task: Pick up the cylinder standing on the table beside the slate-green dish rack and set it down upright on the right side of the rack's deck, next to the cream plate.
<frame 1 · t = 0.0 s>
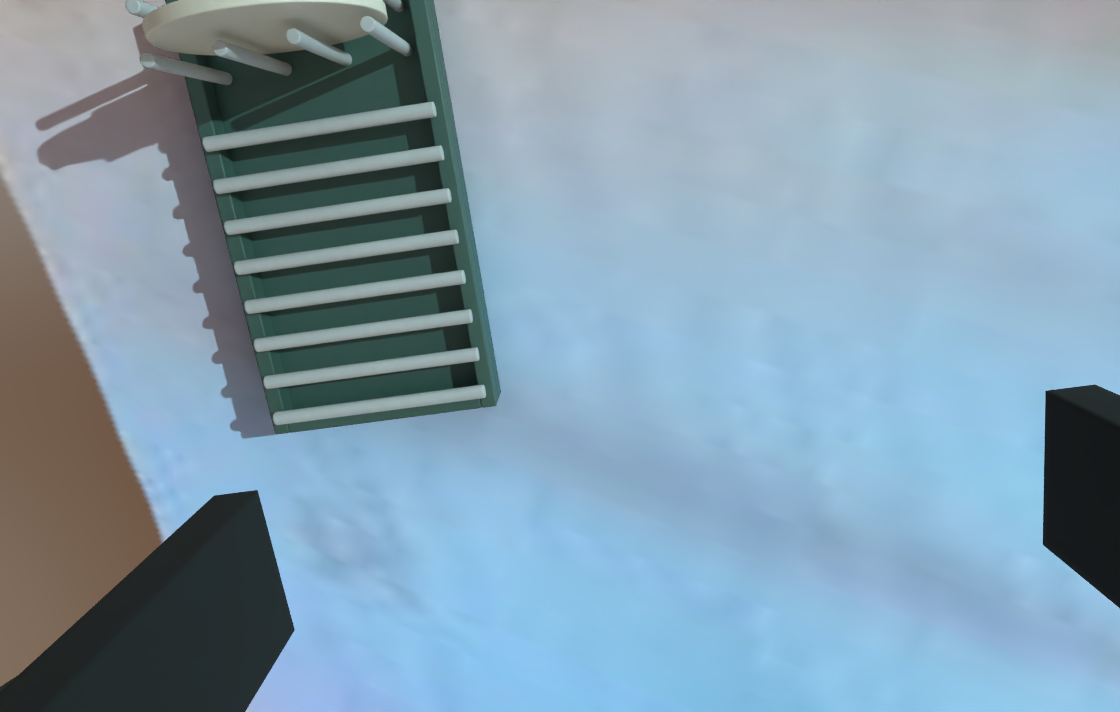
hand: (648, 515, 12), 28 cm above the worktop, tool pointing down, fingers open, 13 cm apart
dish rack: (354, 208, 39), on the worktop
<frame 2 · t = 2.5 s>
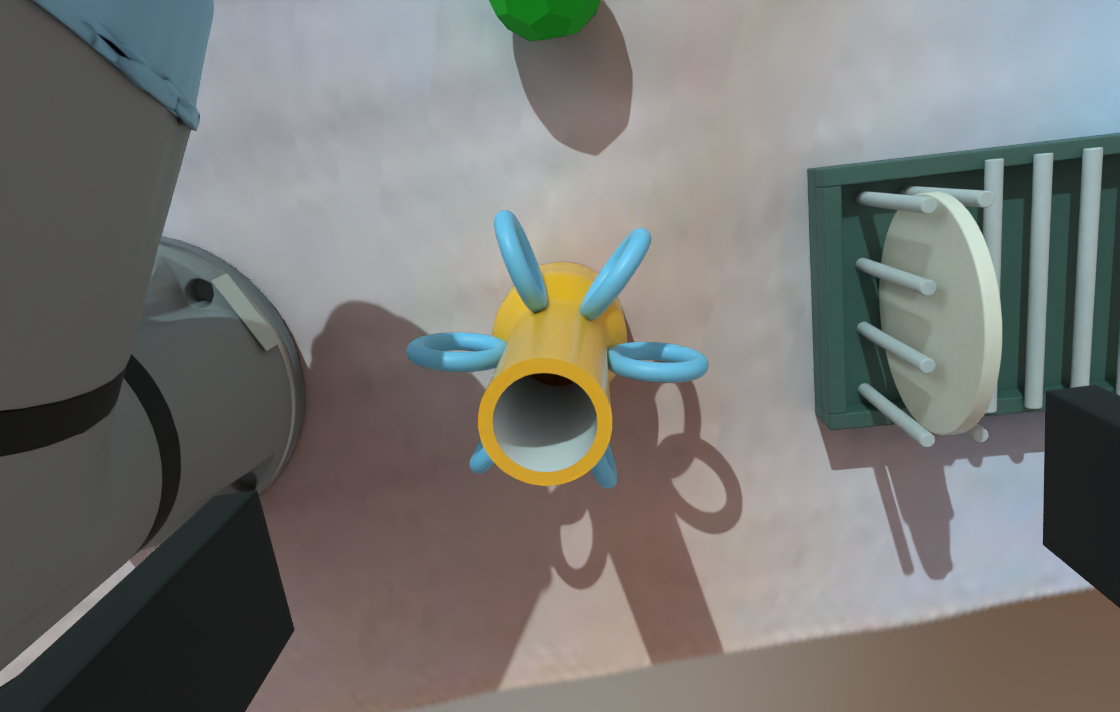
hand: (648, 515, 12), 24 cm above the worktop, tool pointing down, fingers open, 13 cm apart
dish rack: (1048, 271, 35), on the worktop
cylinder: (563, 321, 37), on the worktop
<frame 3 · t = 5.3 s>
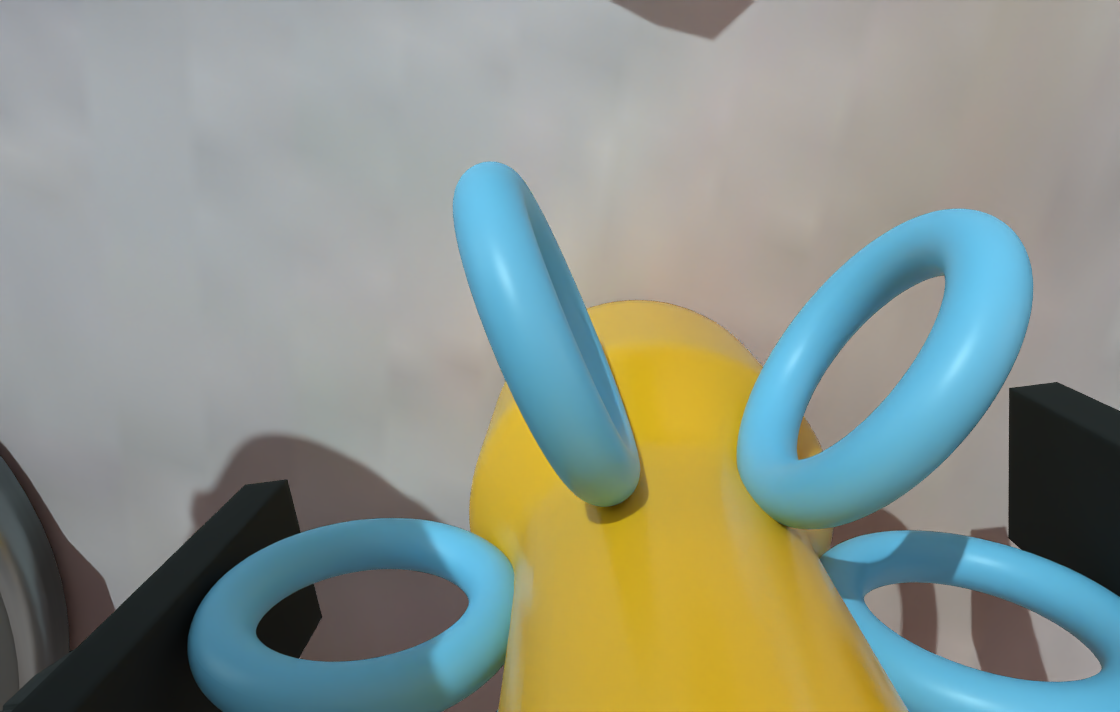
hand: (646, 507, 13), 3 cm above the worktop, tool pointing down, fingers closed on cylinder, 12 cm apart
cylinder: (634, 431, 16), on the worktop, touching gripper
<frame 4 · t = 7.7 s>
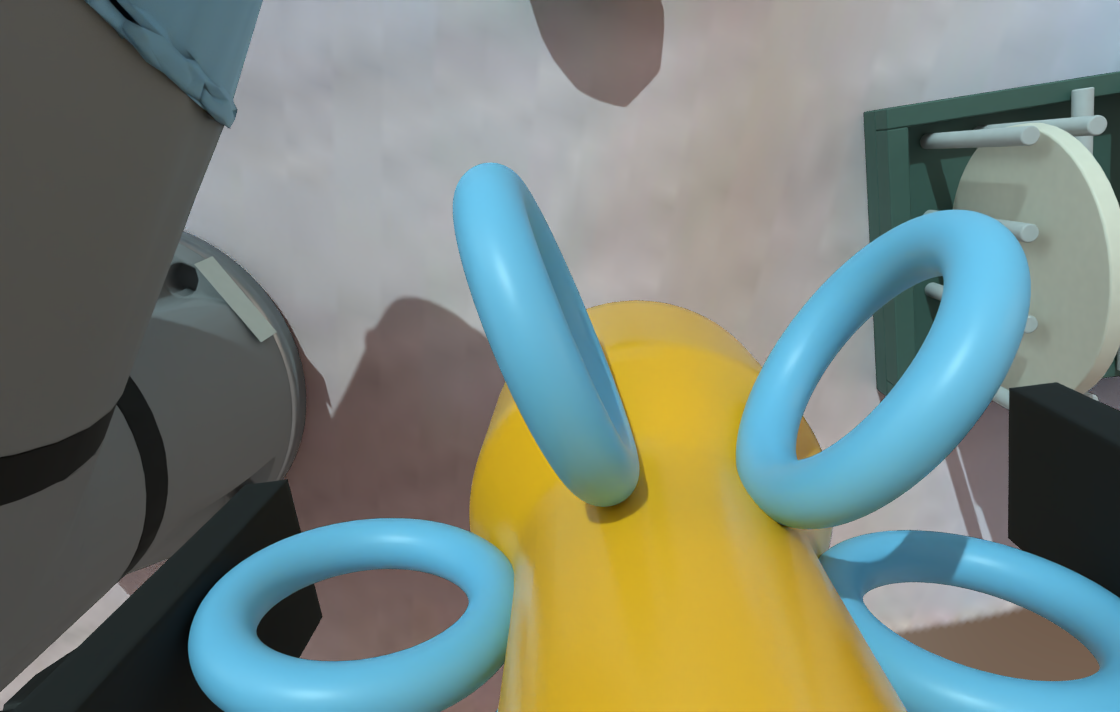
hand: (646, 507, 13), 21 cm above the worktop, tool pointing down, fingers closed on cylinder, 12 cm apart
cylinder: (633, 431, 16), point 17 cm above the worktop, touching gripper
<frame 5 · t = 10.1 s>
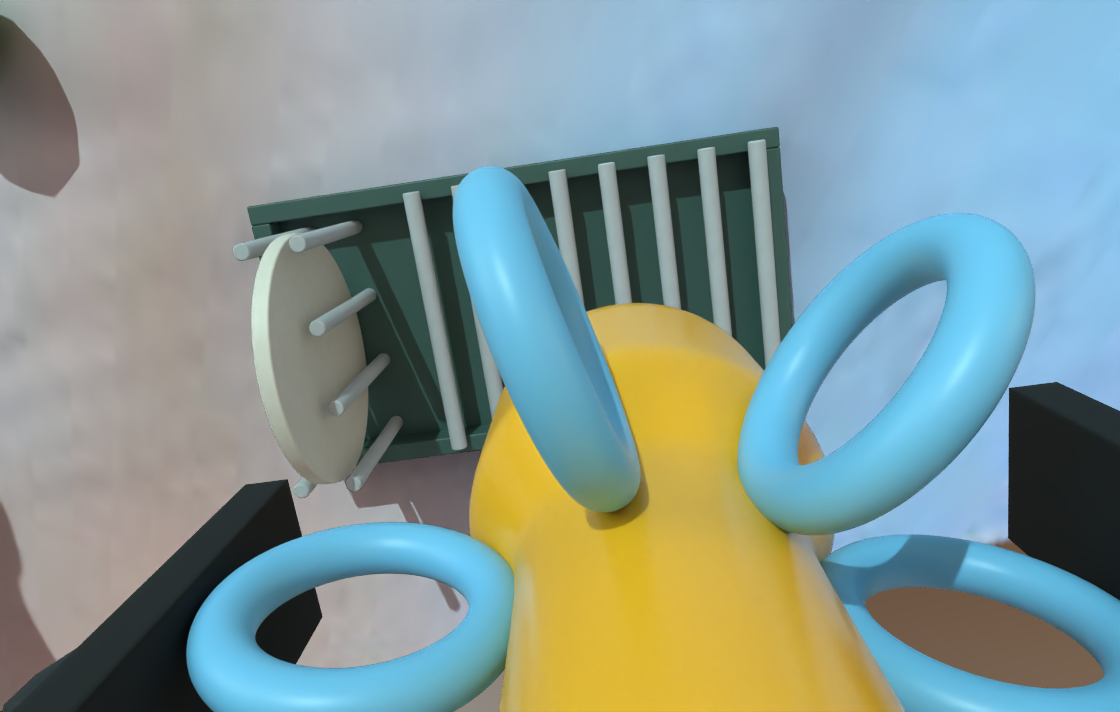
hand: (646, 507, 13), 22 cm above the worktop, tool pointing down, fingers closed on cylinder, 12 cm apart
dish rack: (532, 300, 34), on the worktop
cylinder: (634, 434, 16), point 18 cm above the worktop, touching gripper
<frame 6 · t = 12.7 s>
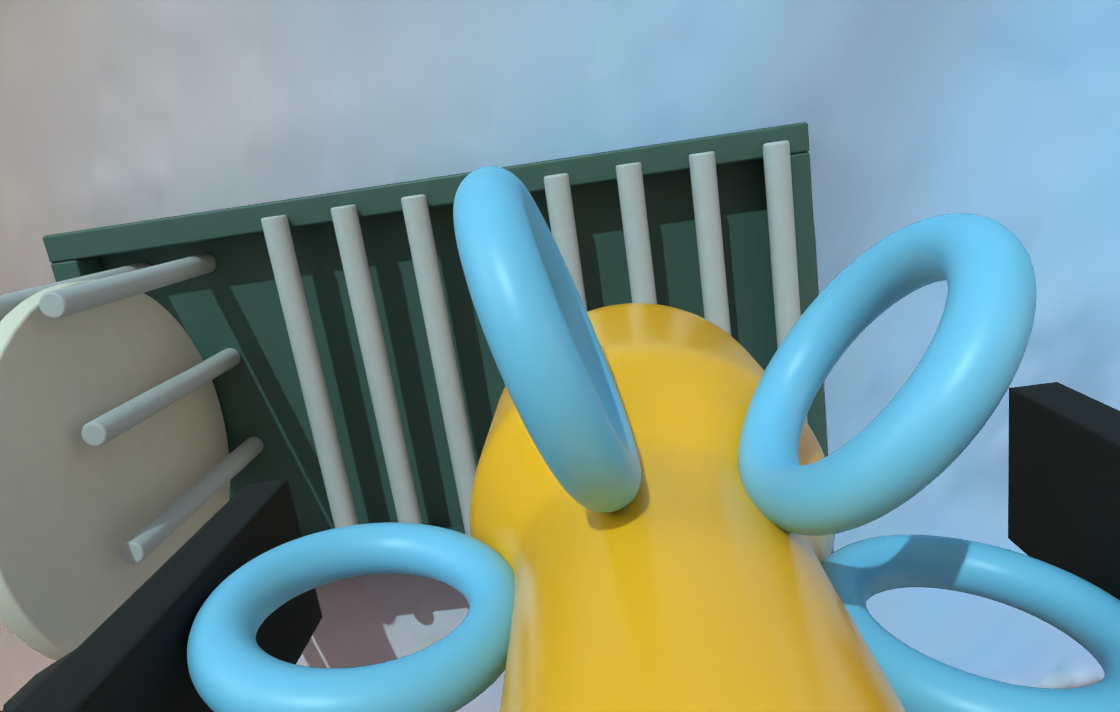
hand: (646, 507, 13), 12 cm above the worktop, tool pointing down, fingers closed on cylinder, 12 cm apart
dish rack: (463, 362, 25), on the worktop
cylinder: (634, 434, 16), point 8 cm above the worktop, touching gripper
when the fingers open (6 cm above the worktop, at t = 15.0 s): cylinder stays where it is, resting on dish rack.
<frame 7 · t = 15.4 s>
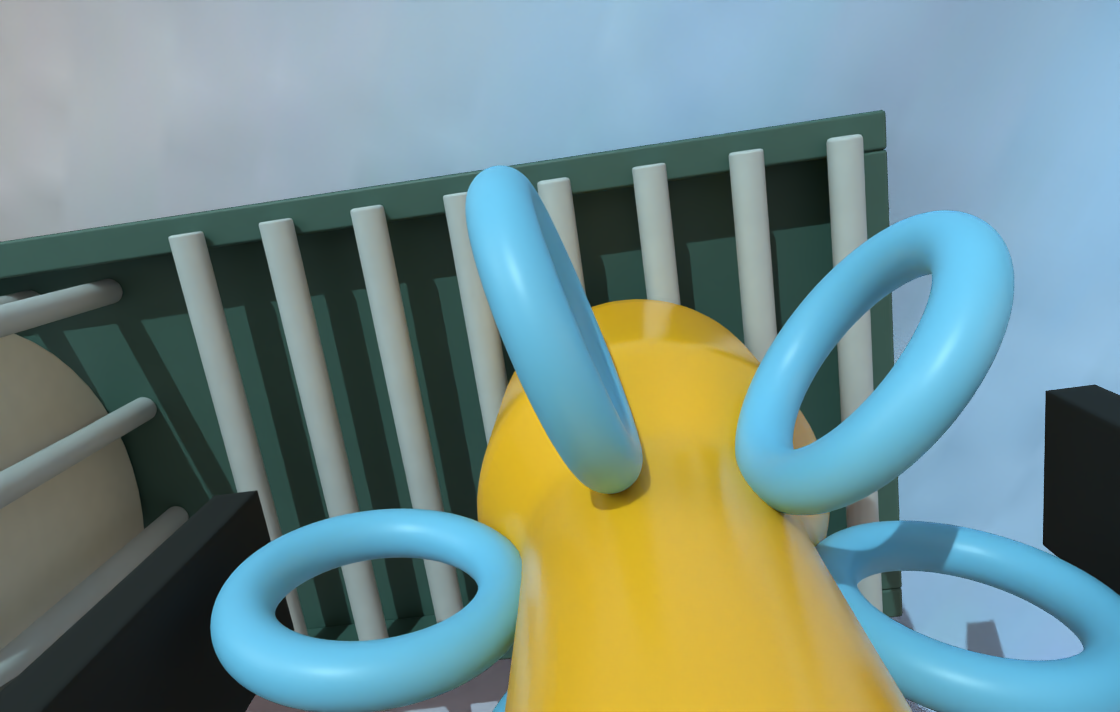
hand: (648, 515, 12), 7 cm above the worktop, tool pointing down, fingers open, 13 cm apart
dish rack: (438, 412, 20), on the worktop
cylinder: (636, 427, 17), point 3 cm above the worktop, touching dish rack
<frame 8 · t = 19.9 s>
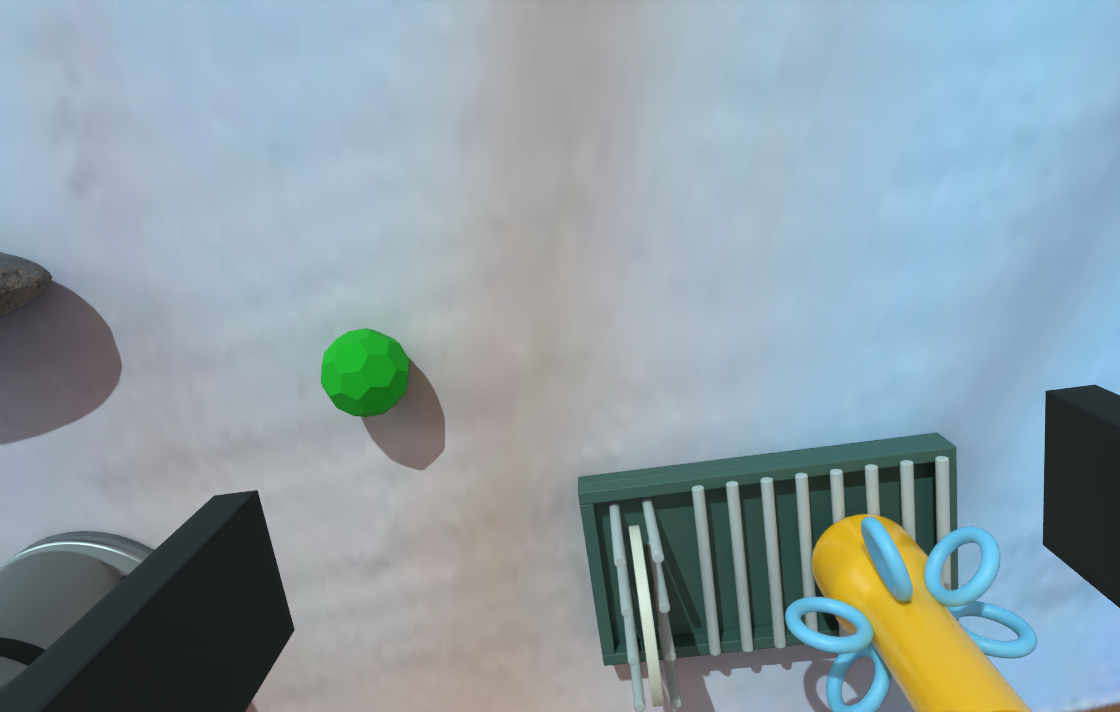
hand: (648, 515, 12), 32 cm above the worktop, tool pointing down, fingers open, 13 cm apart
dish rack: (762, 542, 47), on the worktop
cylinder: (860, 556, 44), point 3 cm above the worktop, touching dish rack
polyhedron: (377, 361, 45), on the worktop
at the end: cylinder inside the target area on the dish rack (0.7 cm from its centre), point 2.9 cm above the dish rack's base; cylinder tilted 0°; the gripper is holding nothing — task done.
